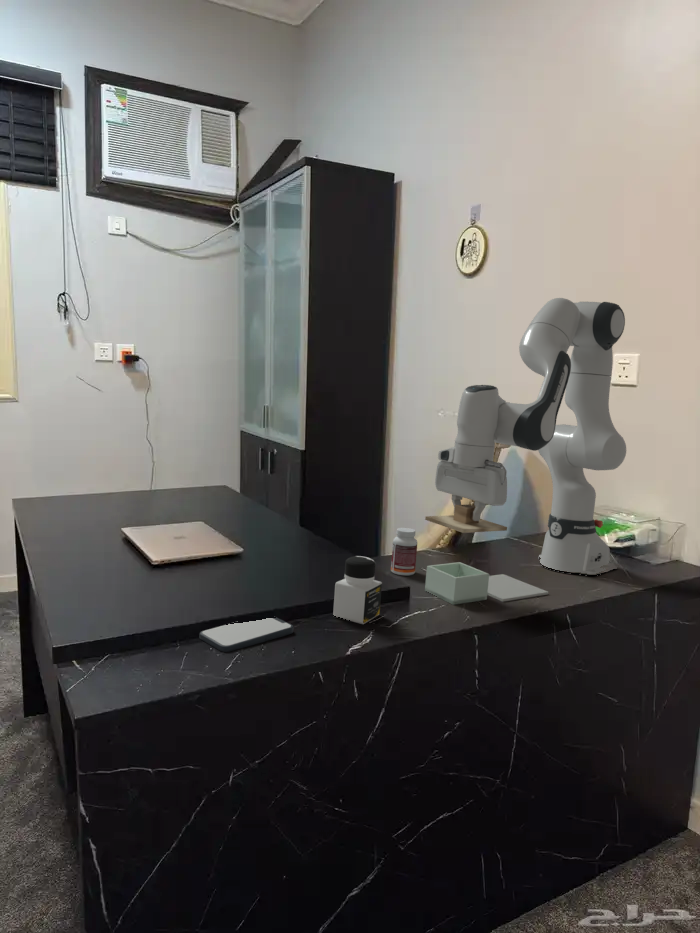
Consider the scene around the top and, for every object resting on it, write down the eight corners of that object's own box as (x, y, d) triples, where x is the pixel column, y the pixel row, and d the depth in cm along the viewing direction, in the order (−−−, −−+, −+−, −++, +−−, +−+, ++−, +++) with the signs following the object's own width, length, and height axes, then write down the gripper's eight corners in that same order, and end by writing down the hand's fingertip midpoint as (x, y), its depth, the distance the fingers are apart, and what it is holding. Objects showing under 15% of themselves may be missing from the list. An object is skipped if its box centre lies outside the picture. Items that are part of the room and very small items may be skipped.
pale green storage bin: (457, 586, 162) (459, 562, 161) (486, 599, 154) (489, 573, 153) (424, 590, 157) (427, 565, 156) (453, 604, 149) (455, 578, 148)
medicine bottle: (363, 625, 133) (368, 565, 131) (332, 616, 136) (336, 558, 134) (379, 615, 139) (384, 558, 137) (349, 607, 142) (353, 551, 141)
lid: (467, 518, 162) (469, 500, 162) (506, 530, 152) (509, 511, 151) (425, 519, 155) (427, 501, 155) (463, 532, 145) (465, 513, 144)
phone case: (224, 657, 115) (296, 634, 126) (224, 648, 115) (296, 626, 126) (196, 640, 121) (267, 620, 132) (196, 631, 121) (267, 612, 132)
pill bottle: (420, 574, 170) (423, 531, 168) (400, 577, 166) (404, 533, 165) (404, 567, 175) (408, 526, 174) (385, 570, 172) (389, 527, 170)
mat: (502, 576, 174) (503, 574, 174) (548, 594, 161) (548, 591, 161) (458, 582, 166) (458, 579, 166) (502, 601, 153) (502, 599, 153)
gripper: (517, 464, 145) (509, 527, 146) (454, 451, 162) (448, 508, 163) (496, 463, 141) (488, 528, 143) (433, 451, 158) (427, 509, 160)
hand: (466, 517), depth 153 cm, fingers closed on lid, 4 cm apart
